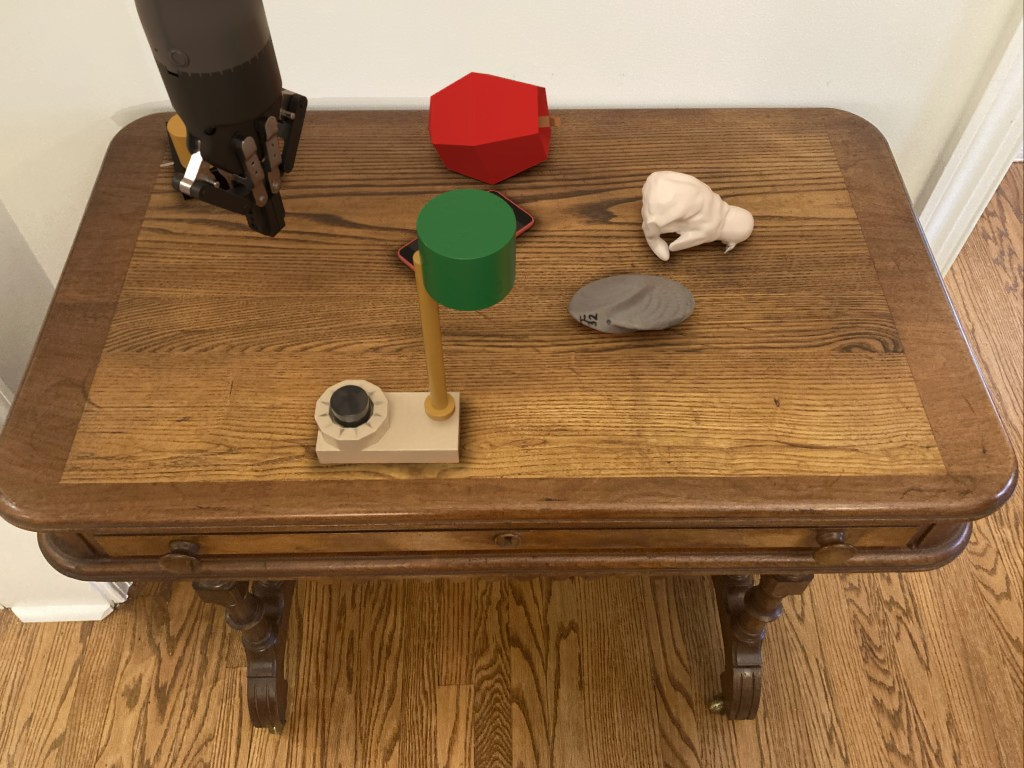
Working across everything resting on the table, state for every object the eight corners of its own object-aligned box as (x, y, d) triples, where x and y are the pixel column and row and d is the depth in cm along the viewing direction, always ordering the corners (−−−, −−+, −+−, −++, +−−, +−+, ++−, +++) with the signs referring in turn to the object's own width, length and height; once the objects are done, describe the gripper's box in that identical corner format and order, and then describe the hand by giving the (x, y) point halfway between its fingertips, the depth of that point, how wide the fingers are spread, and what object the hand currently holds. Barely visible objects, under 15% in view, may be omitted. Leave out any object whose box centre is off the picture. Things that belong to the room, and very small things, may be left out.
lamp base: (319, 464, 74) (310, 440, 70) (327, 405, 77) (319, 379, 74) (459, 463, 74) (456, 439, 71) (460, 405, 77) (458, 379, 74)
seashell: (675, 373, 79) (710, 290, 84) (673, 339, 75) (710, 253, 79) (562, 342, 84) (600, 264, 88) (552, 308, 79) (593, 228, 83)
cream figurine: (646, 154, 84) (765, 165, 85) (628, 217, 91) (738, 228, 92) (651, 198, 80) (775, 210, 81) (631, 261, 87) (746, 271, 88)
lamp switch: (331, 427, 72) (327, 416, 70) (335, 396, 73) (331, 384, 72) (369, 427, 72) (366, 416, 70) (372, 396, 73) (369, 384, 72)
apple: (449, 129, 101) (574, 116, 98) (434, 205, 95) (568, 193, 92) (419, 43, 92) (557, 25, 88) (400, 121, 85) (548, 105, 82)
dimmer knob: (183, 175, 90) (168, 138, 86) (178, 149, 93) (163, 112, 89) (225, 166, 91) (212, 129, 87) (219, 140, 94) (206, 103, 90)
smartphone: (393, 251, 87) (492, 186, 93) (393, 255, 88) (492, 190, 93) (438, 288, 84) (538, 219, 90) (438, 292, 85) (538, 223, 91)
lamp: (422, 441, 70) (395, 259, 53) (426, 378, 74) (402, 188, 57) (513, 440, 70) (517, 259, 53) (513, 377, 74) (515, 188, 57)
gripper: (230, -31, 59) (283, 166, 73) (90, 70, 53) (178, 265, 67) (318, -1, 57) (355, 195, 71) (184, 107, 50) (255, 300, 65)
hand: (269, 229), depth 69 cm, fingers closed
